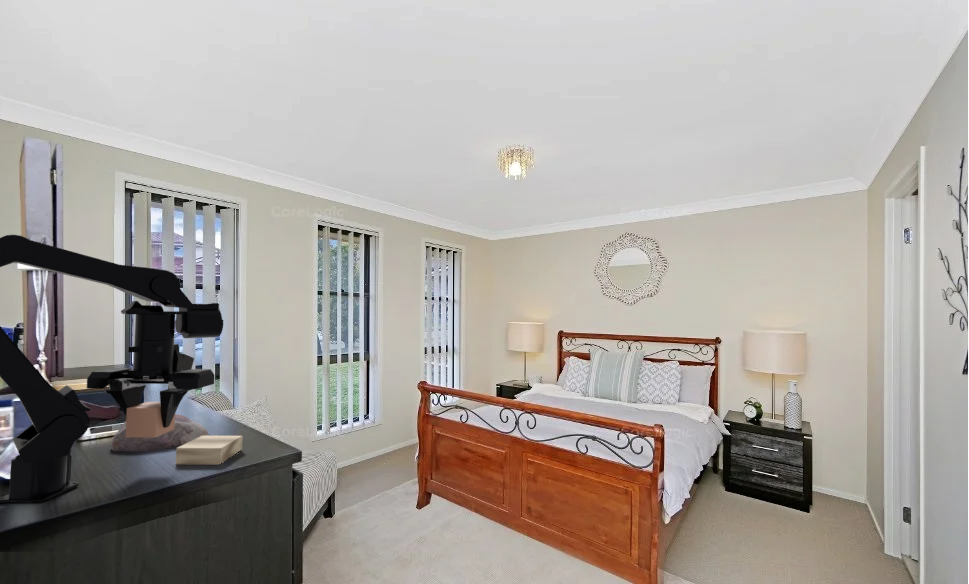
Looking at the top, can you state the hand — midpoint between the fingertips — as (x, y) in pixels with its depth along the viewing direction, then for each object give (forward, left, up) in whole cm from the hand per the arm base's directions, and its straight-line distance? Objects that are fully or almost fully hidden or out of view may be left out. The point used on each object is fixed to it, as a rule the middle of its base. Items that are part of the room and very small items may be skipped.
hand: (150, 427), depth 78 cm
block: (0, 0, -1) cm, 1 cm away
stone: (+16, +8, -8) cm, 20 cm away
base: (+7, -7, -8) cm, 12 cm away
